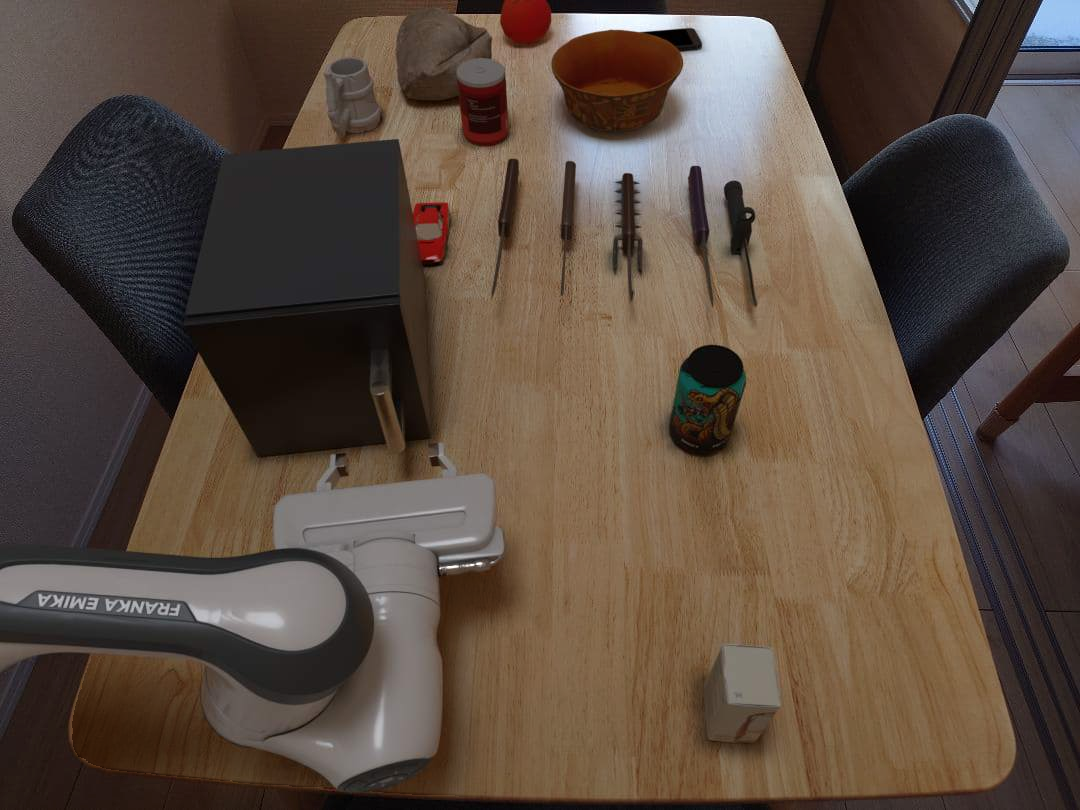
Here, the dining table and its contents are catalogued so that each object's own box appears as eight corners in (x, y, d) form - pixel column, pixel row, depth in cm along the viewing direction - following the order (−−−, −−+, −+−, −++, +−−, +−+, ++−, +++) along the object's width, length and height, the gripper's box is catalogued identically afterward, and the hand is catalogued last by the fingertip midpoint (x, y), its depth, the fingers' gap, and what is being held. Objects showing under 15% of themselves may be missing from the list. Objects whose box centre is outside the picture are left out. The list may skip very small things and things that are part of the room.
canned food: (489, 115, 130) (484, 52, 121) (518, 135, 126) (515, 71, 118) (453, 132, 127) (445, 68, 118) (482, 152, 123) (476, 89, 115)
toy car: (446, 266, 106) (443, 249, 104) (409, 267, 107) (405, 250, 104) (450, 213, 114) (448, 195, 111) (416, 214, 114) (413, 196, 111)
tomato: (560, 33, 147) (560, -12, 141) (531, 56, 142) (529, 10, 135) (520, 22, 150) (518, -23, 144) (490, 44, 145) (487, -2, 139)
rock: (514, 27, 132) (445, -27, 122) (492, 114, 130) (420, 67, 120) (462, 53, 144) (396, 7, 134) (441, 134, 142) (372, 92, 132)
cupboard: (430, 430, 89) (399, 293, 72) (258, 448, 88) (184, 314, 71) (425, 280, 105) (398, 138, 88) (279, 294, 104) (223, 153, 86)
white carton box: (756, 744, 67) (782, 711, 59) (706, 741, 67) (725, 707, 59) (750, 685, 70) (774, 645, 62) (702, 682, 70) (720, 642, 62)
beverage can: (693, 467, 85) (709, 401, 76) (656, 424, 89) (667, 356, 79) (742, 440, 87) (764, 372, 78) (704, 399, 91) (720, 330, 81)
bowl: (526, 122, 129) (524, 65, 121) (602, 70, 138) (604, 15, 130) (626, 167, 120) (631, 109, 112) (699, 109, 130) (708, 52, 122)
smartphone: (617, 36, 146) (617, 32, 145) (693, 30, 147) (694, 26, 146) (624, 56, 141) (624, 51, 140) (703, 49, 142) (703, 45, 141)
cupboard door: (432, 480, 85) (400, 350, 67) (251, 501, 83) (171, 373, 66) (430, 431, 89) (399, 296, 72) (258, 449, 88) (184, 317, 71)
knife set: (486, 328, 97) (483, 281, 91) (509, 183, 119) (508, 138, 113) (761, 341, 96) (776, 295, 90) (734, 192, 117) (744, 147, 111)
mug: (389, 112, 131) (376, 44, 122) (360, 151, 124) (343, 81, 115) (349, 106, 133) (333, 38, 123) (318, 144, 126) (298, 75, 116)
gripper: (505, 551, 63) (492, 420, 72) (258, 580, 62) (275, 444, 71) (509, 583, 68) (497, 457, 77) (281, 610, 67) (293, 480, 76)
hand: (388, 451), depth 74 cm, fingers open, 8 cm apart
